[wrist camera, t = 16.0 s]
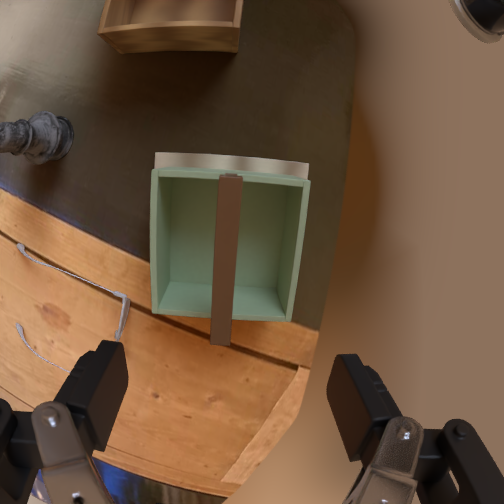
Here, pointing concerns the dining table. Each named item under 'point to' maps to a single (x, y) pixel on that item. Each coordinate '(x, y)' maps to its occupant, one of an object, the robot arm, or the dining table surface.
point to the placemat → (231, 163)
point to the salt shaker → (37, 137)
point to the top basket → (225, 245)
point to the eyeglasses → (125, 300)
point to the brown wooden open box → (171, 25)
